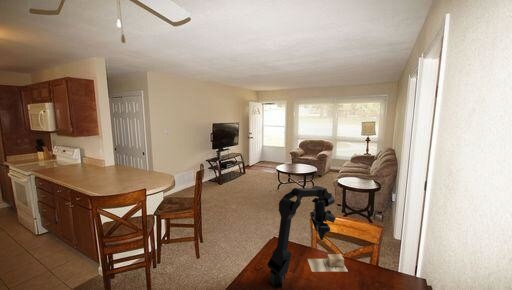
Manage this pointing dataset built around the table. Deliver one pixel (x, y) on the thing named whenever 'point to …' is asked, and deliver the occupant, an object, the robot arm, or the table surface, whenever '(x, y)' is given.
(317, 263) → the board
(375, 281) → the table surface
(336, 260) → the sanding block
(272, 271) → the robot arm
